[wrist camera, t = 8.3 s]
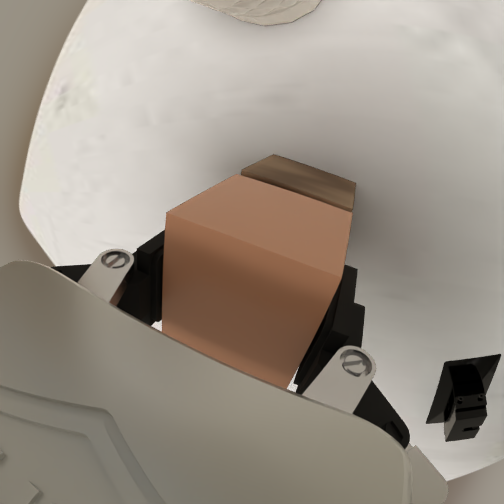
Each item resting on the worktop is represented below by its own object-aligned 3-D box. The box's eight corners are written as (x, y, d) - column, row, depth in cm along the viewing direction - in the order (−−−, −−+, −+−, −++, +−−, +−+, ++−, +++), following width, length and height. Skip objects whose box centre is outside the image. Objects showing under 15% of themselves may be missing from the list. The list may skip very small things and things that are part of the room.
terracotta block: (352, 213, 11) (341, 277, 7) (307, 323, 14) (278, 402, 10) (236, 174, 12) (166, 212, 8) (215, 286, 15) (162, 349, 11)
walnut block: (355, 182, 16) (352, 208, 12) (322, 268, 19) (307, 315, 15) (274, 154, 17) (241, 169, 13) (251, 240, 20) (218, 278, 16)
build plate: (475, 421, 20) (478, 456, 16) (413, 427, 23) (411, 464, 20) (512, 333, 16) (528, 374, 12) (434, 341, 19) (440, 387, 15)
